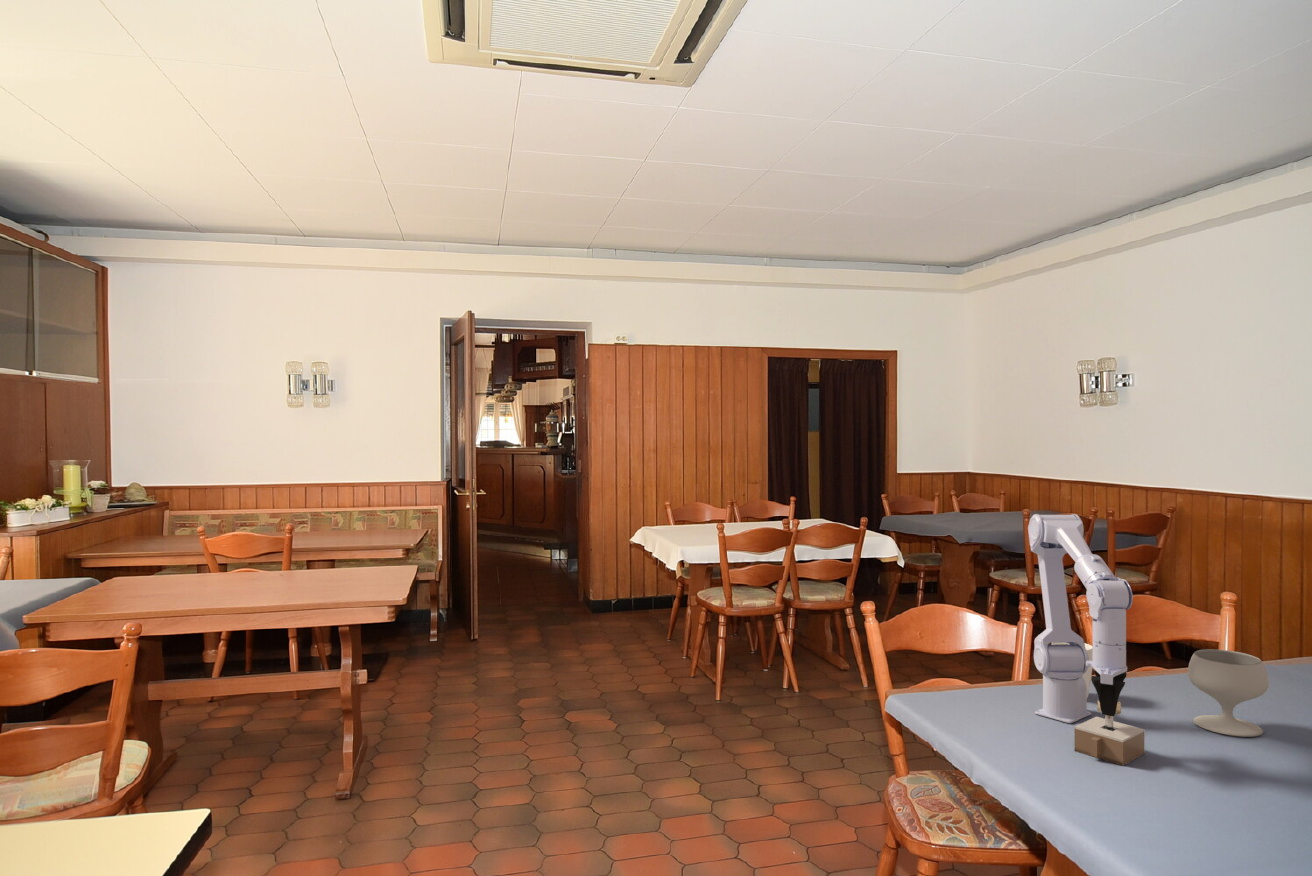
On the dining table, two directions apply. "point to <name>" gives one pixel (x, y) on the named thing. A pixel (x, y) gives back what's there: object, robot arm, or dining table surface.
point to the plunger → (1110, 718)
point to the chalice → (1228, 687)
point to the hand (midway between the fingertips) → (1109, 711)
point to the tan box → (1109, 741)
